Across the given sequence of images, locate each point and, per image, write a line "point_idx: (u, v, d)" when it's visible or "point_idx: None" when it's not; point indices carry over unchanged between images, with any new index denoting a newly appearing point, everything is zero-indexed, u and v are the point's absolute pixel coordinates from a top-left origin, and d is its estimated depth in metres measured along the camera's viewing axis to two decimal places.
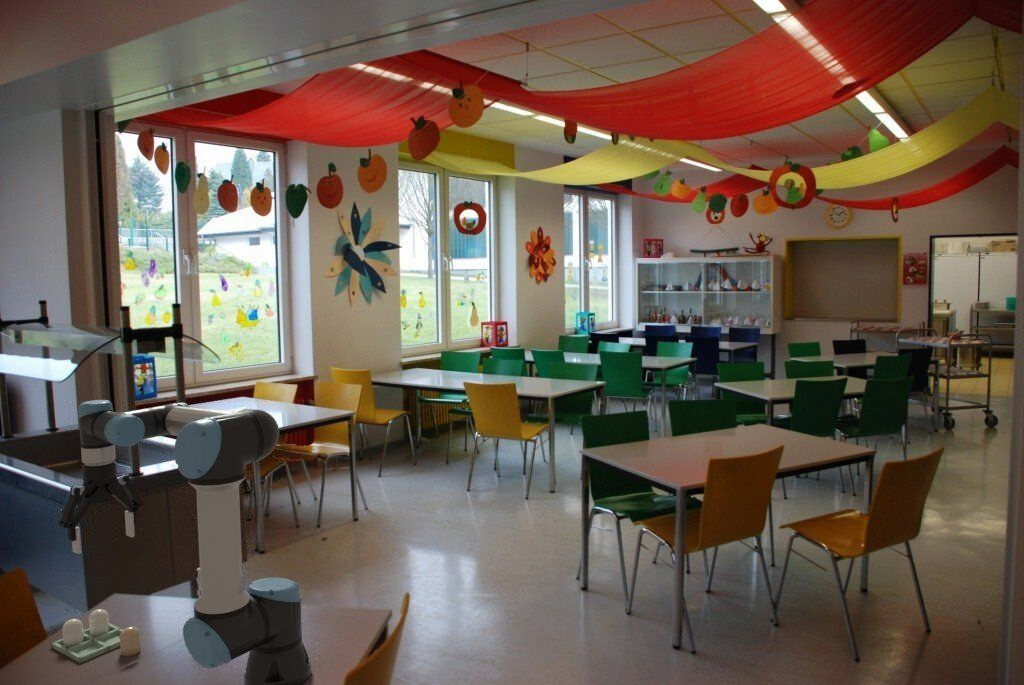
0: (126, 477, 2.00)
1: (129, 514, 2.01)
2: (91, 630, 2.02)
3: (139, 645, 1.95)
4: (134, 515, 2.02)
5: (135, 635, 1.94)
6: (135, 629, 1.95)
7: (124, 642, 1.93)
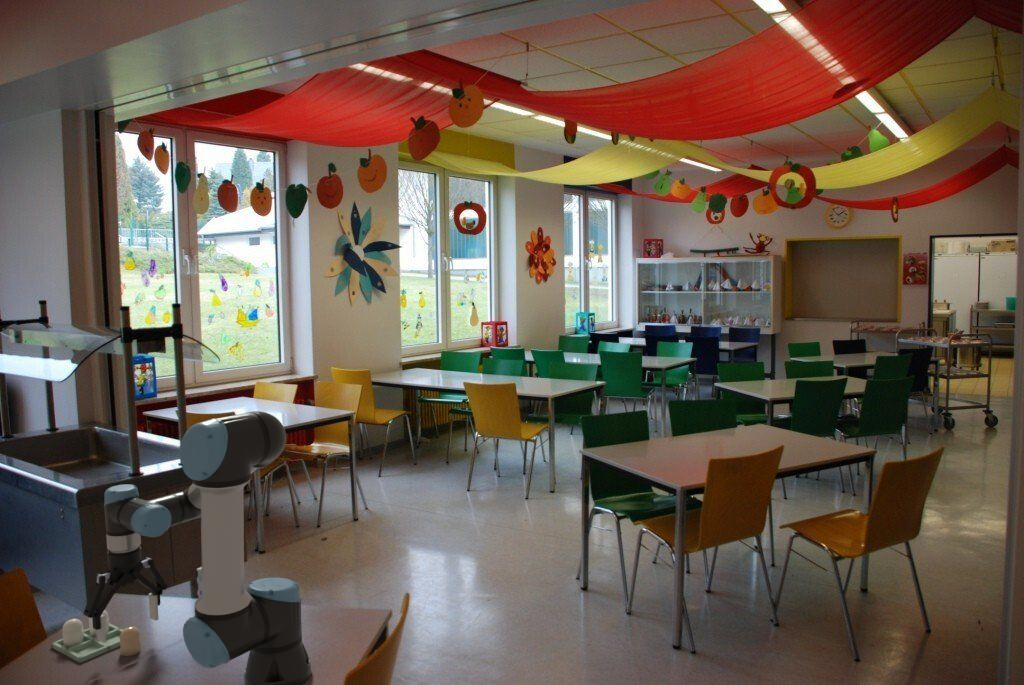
0: (151, 561, 1.97)
1: (153, 597, 1.99)
2: (91, 630, 2.02)
3: (139, 645, 1.95)
4: (158, 598, 2.00)
5: (135, 635, 1.94)
6: (135, 629, 1.95)
7: (124, 642, 1.93)
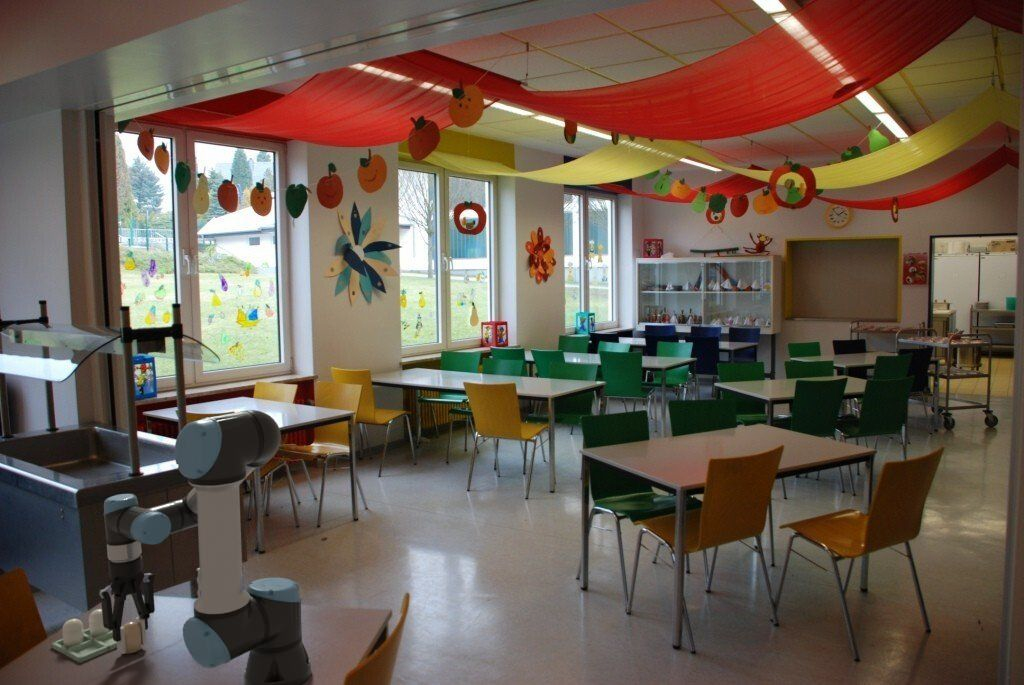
0: (152, 576, 1.97)
1: (140, 621, 1.95)
2: (91, 630, 2.02)
3: (139, 640, 1.94)
4: (145, 622, 1.97)
5: (136, 630, 1.93)
6: (135, 624, 1.94)
7: (125, 637, 1.92)
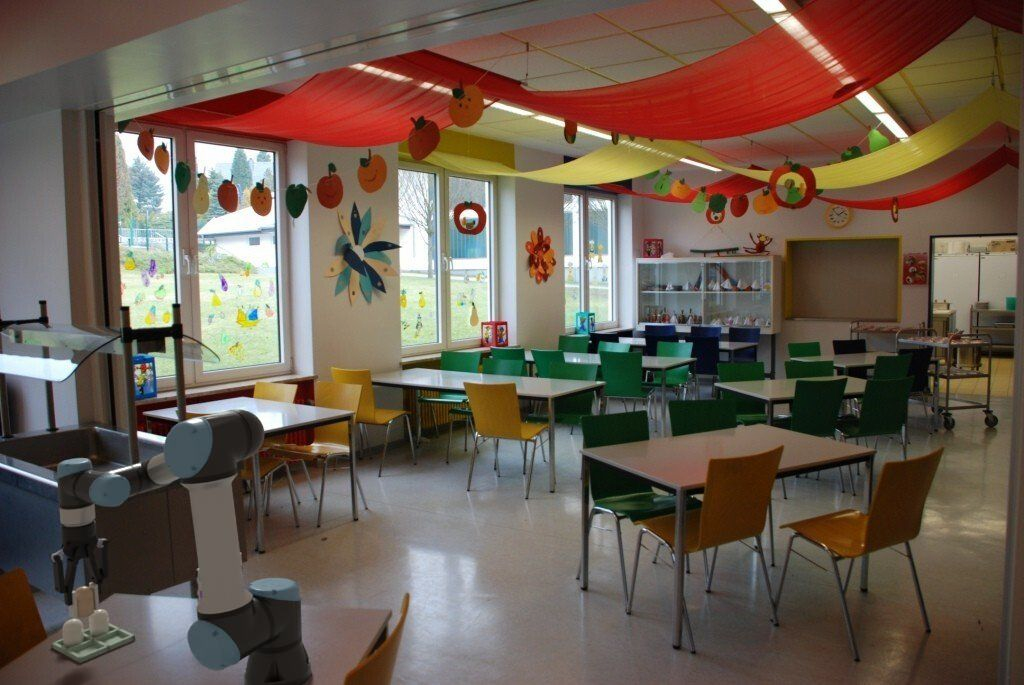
0: (106, 541, 1.96)
1: (93, 586, 1.95)
2: (91, 630, 2.02)
3: (92, 605, 1.94)
4: (99, 587, 1.96)
5: (88, 594, 1.92)
6: (88, 589, 1.93)
7: None
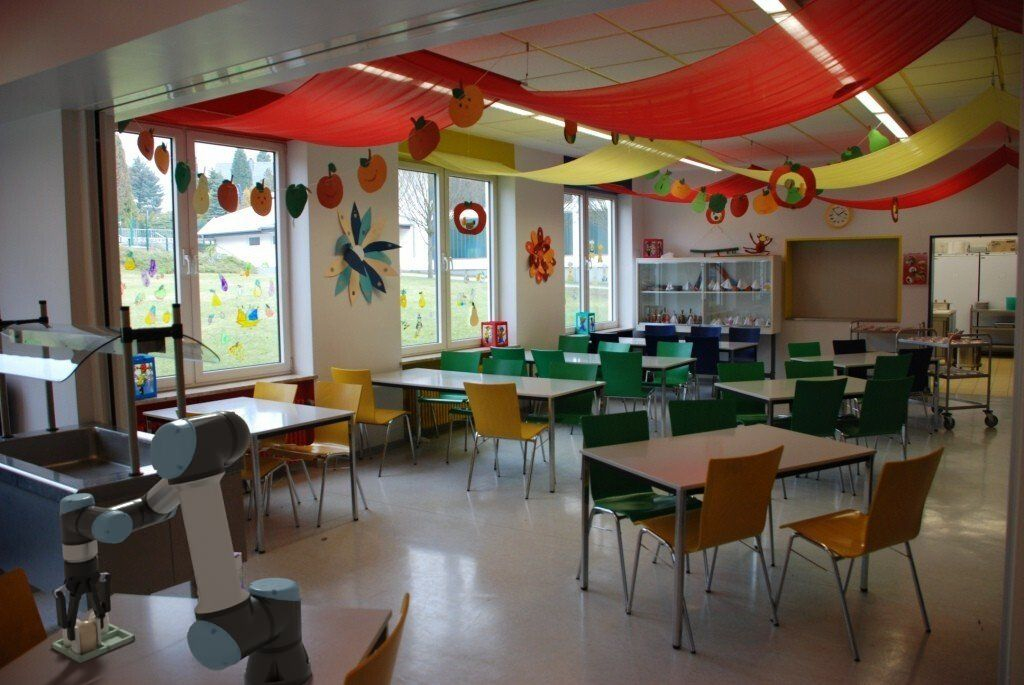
0: (108, 575, 1.97)
1: (96, 621, 1.95)
2: None
3: (94, 639, 1.95)
4: (101, 621, 1.97)
5: (91, 629, 1.93)
6: (90, 623, 1.94)
7: None
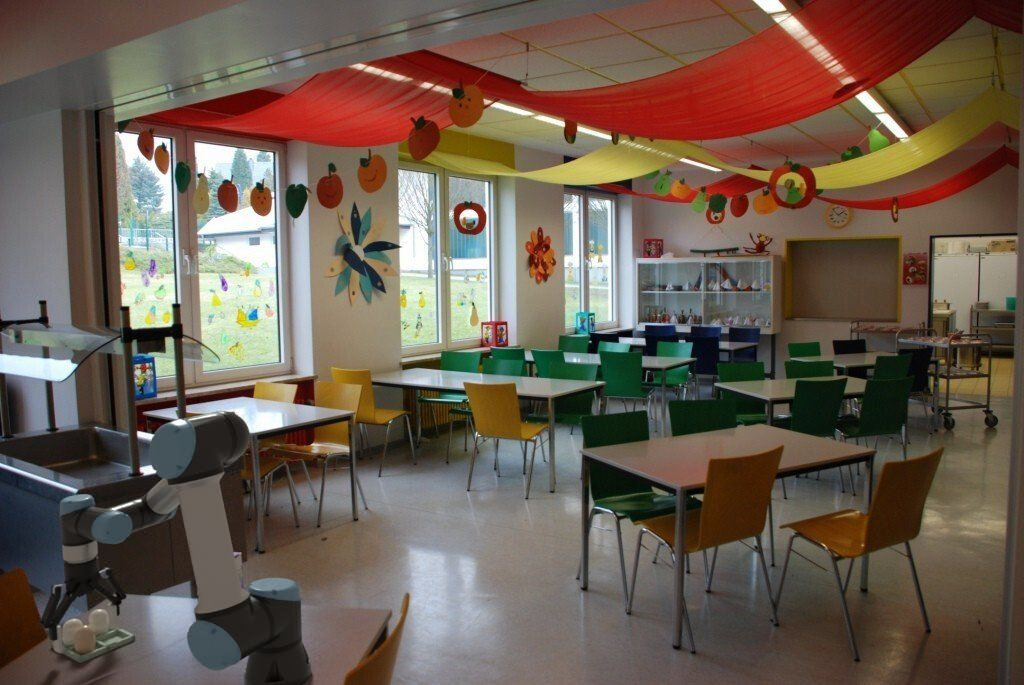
0: (109, 571, 1.97)
1: (112, 607, 1.99)
2: None
3: (94, 644, 1.94)
4: (117, 608, 2.00)
5: (90, 633, 1.93)
6: (90, 628, 1.94)
7: (78, 641, 1.92)
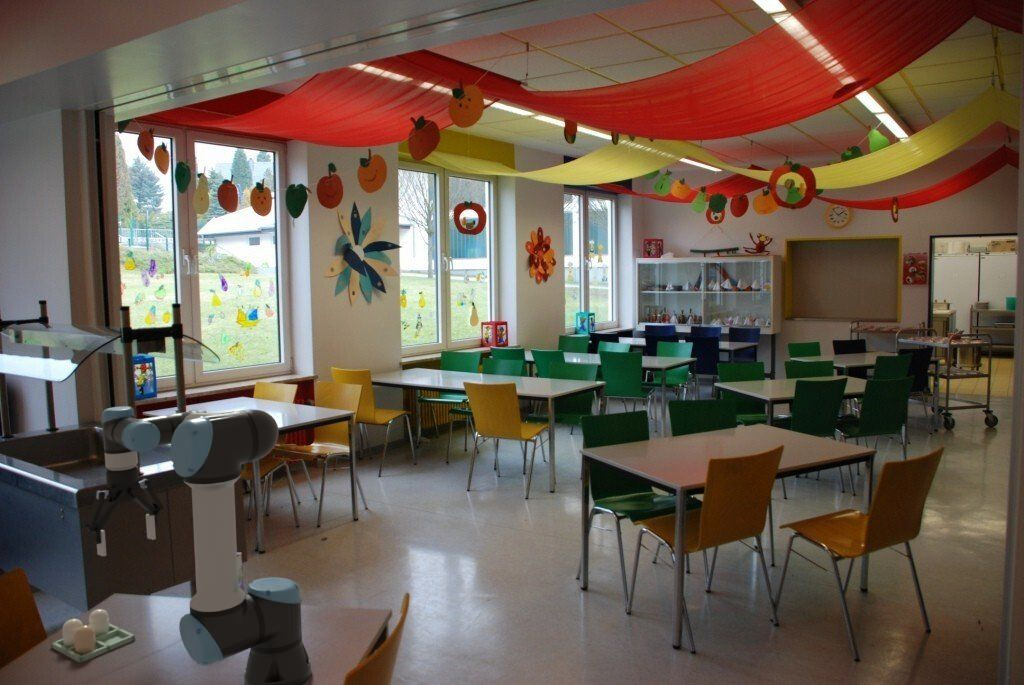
0: (147, 481, 2.06)
1: (150, 517, 2.07)
2: None
3: (94, 644, 1.94)
4: (155, 518, 2.08)
5: (90, 633, 1.93)
6: (90, 628, 1.94)
7: (78, 641, 1.92)
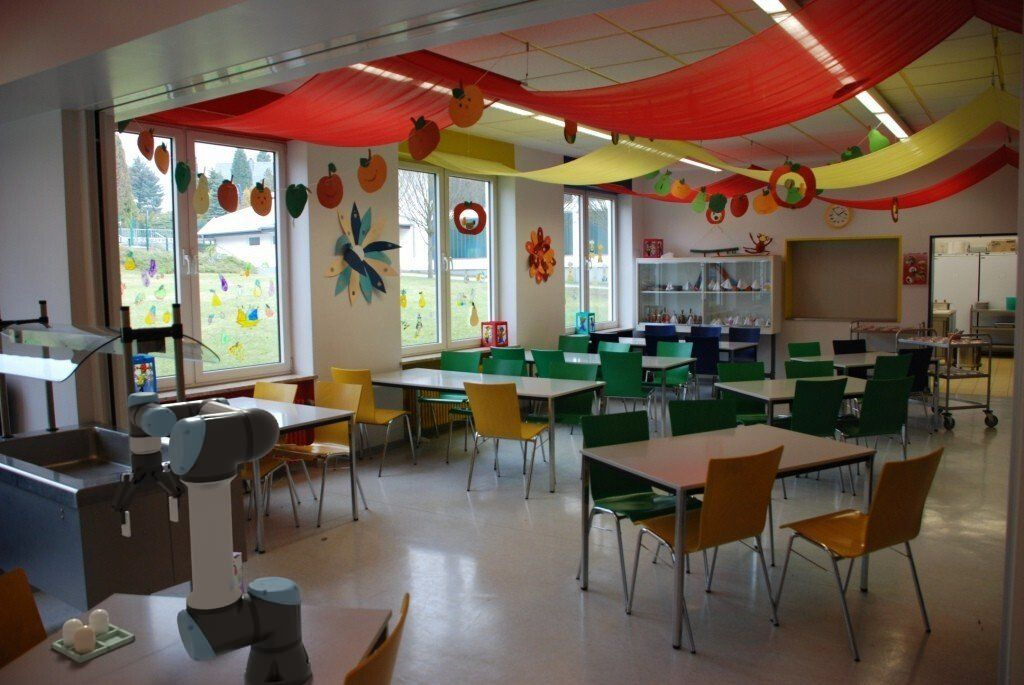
0: None
1: (173, 500, 2.13)
2: None
3: (94, 644, 1.94)
4: (178, 501, 2.14)
5: (90, 633, 1.93)
6: (90, 628, 1.94)
7: (78, 641, 1.92)
